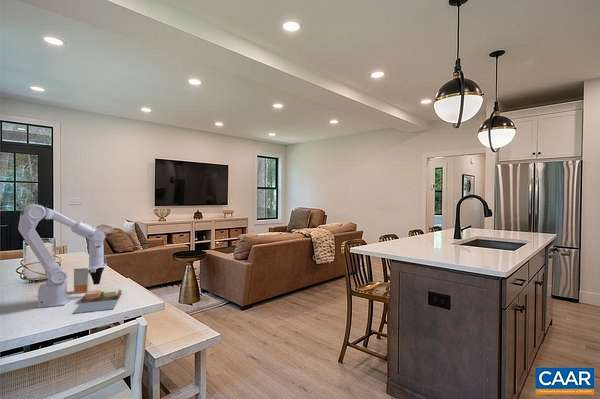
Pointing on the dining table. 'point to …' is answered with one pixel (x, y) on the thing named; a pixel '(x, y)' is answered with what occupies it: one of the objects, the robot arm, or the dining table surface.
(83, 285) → the skincare box
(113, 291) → the tile sage
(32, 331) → the dining table surface
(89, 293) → the tile terracotta
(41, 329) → the dining table surface
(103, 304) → the mat
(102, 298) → the riser
